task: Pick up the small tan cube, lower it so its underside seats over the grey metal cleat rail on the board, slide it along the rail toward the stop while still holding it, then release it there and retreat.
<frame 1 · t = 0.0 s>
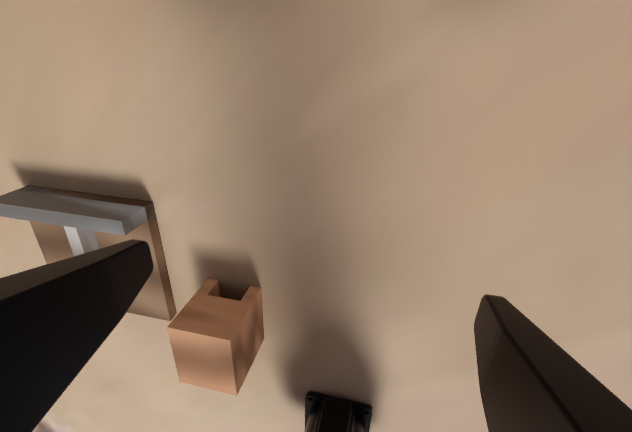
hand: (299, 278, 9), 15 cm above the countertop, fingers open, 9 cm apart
tan cube: (236, 309, 31), on the countertop
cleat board: (105, 252, 32), on the countertop
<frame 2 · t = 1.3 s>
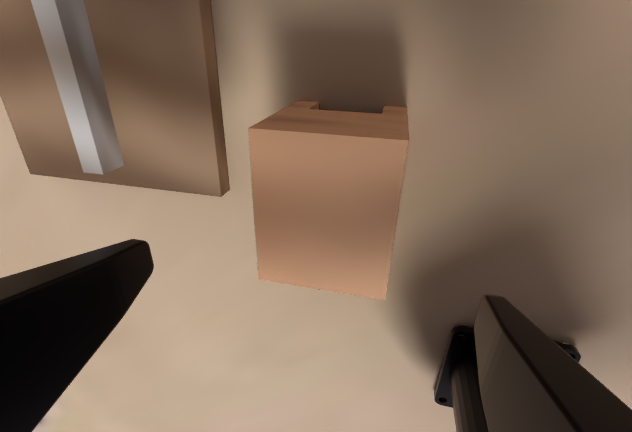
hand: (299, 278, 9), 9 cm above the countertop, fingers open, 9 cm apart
tan cube: (346, 166, 17), on the countertop
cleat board: (106, 69, 17), on the countertop
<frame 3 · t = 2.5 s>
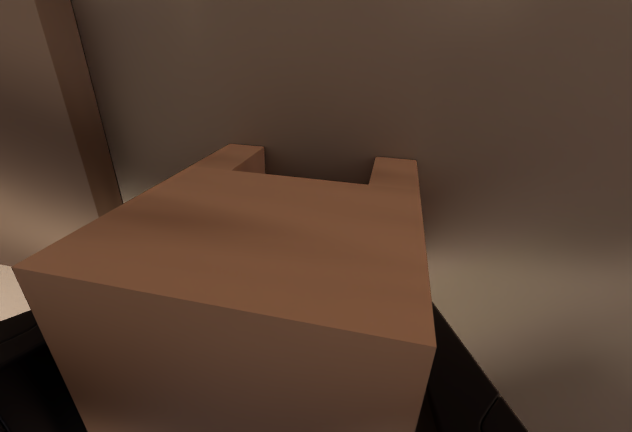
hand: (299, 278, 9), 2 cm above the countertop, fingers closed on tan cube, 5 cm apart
tan cube: (315, 248, 10), on the countertop, touching gripper
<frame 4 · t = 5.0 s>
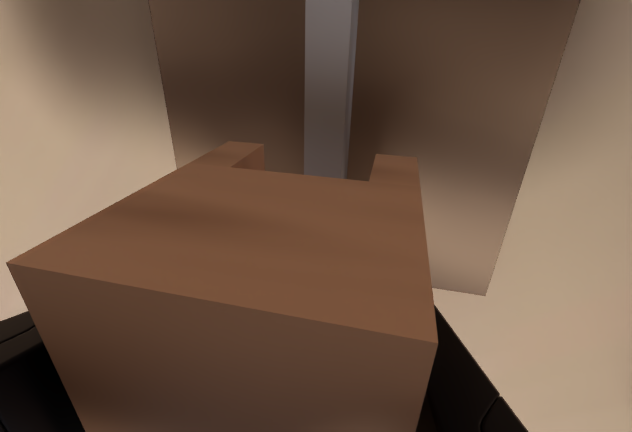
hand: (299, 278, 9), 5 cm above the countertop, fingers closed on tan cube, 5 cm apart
tan cube: (315, 246, 10), point 4 cm above the countertop, touching gripper
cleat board: (337, 120, 12), on the countertop
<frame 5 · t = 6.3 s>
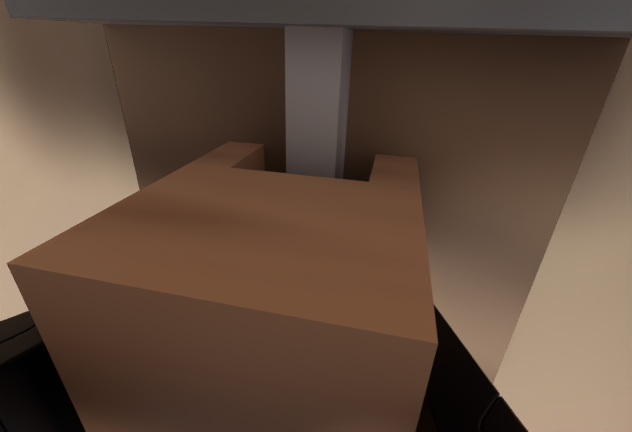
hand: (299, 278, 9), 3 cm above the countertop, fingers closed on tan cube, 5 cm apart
tan cube: (315, 246, 10), point 2 cm above the countertop, touching gripper
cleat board: (327, 198, 11), on the countertop
when the fingers open (3 cm above the countertop, at t = 7.6 s): tan cube stays where it is, resting on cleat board.
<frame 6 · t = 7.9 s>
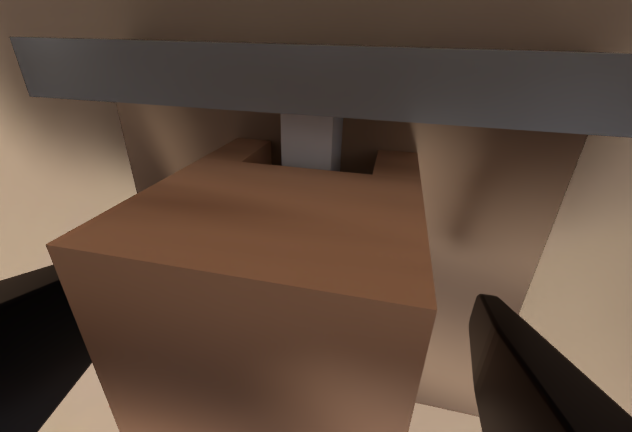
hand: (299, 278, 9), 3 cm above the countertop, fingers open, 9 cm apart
tan cube: (319, 239, 11), point 1 cm above the countertop, touching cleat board
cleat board: (323, 238, 12), on the countertop
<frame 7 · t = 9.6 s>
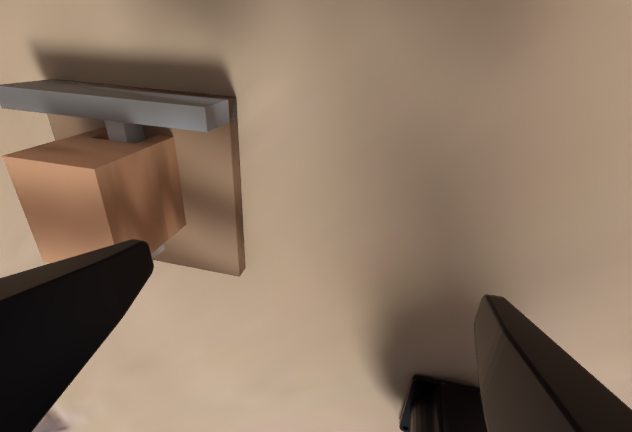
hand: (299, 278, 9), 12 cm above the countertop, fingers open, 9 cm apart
tan cube: (145, 178, 22), point 1 cm above the countertop, touching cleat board
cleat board: (155, 180, 23), on the countertop
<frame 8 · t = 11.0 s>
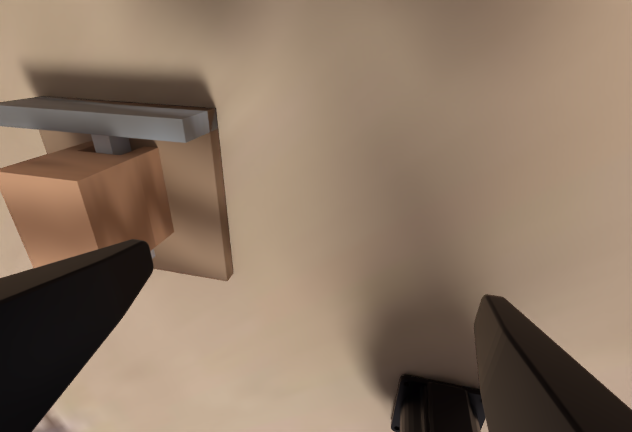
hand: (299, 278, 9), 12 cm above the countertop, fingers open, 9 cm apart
tan cube: (133, 188, 23), point 1 cm above the countertop, touching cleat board
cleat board: (144, 190, 24), on the countertop
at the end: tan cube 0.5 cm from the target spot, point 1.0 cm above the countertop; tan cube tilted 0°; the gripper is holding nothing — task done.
